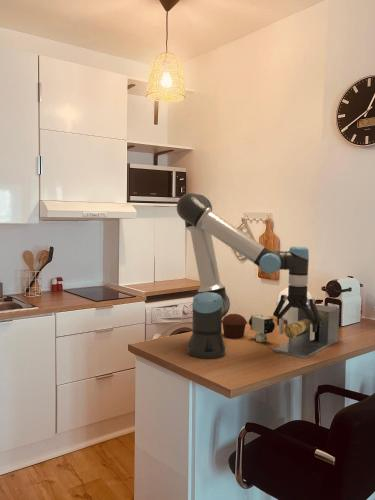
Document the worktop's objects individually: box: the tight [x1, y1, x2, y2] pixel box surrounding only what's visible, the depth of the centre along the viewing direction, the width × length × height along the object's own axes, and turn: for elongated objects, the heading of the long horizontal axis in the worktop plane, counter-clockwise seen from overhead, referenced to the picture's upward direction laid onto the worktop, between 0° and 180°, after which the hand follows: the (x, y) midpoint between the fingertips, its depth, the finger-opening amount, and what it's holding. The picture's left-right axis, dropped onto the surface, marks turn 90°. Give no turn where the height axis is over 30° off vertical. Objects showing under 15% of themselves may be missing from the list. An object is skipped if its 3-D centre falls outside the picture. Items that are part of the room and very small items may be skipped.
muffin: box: [222, 313, 248, 340], centre depth 203 cm, size 12×11×10 cm
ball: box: [275, 287, 313, 322], centre depth 232 cm, size 19×20×20 cm
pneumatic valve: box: [248, 313, 276, 344], centre depth 194 cm, size 6×12×12 cm, turn 35°
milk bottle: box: [286, 307, 298, 325], centre depth 213 cm, size 8×8×20 cm
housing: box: [272, 303, 340, 359], centre depth 188 cm, size 14×34×15 cm, turn 141°
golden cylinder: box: [283, 319, 312, 339], centre depth 182 cm, size 6×15×6 cm, turn 141°
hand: (296, 336), depth 180 cm, fingers open, 13 cm apart
